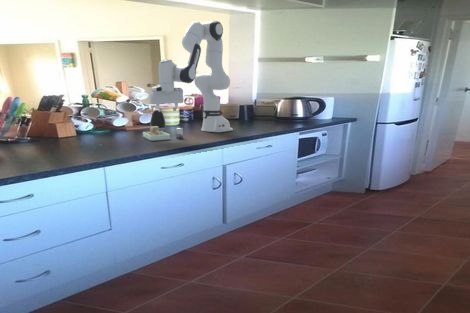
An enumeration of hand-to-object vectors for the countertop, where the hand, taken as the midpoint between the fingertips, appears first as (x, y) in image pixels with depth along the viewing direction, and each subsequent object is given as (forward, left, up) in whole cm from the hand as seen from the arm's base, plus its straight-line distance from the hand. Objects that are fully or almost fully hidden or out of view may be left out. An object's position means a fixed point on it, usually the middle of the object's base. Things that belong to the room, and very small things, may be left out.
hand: (167, 111), depth 219 cm
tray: (+7, 0, -16) cm, 18 cm away
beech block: (+7, -4, -16) cm, 18 cm away
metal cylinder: (-6, +5, -16) cm, 18 cm away
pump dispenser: (-2, -21, -16) cm, 27 cm away
